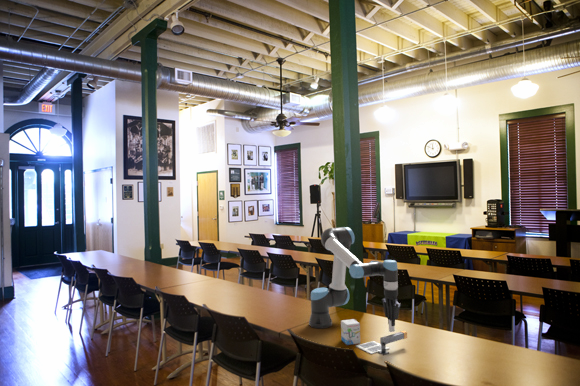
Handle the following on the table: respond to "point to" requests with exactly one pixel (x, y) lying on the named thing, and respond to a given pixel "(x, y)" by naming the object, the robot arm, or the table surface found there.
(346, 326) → the ink box
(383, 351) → the pivot post
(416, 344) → the table surface
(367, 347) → the label plate
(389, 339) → the swing arm
